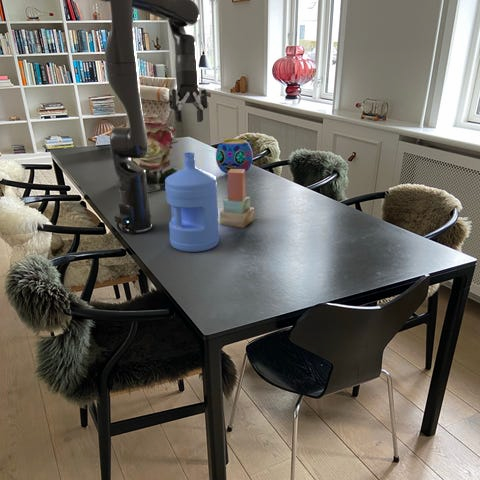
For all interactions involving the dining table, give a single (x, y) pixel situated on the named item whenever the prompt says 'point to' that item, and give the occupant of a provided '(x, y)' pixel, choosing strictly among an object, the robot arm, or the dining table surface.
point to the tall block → (236, 184)
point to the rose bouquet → (157, 151)
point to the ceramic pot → (234, 155)
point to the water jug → (192, 208)
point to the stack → (237, 213)
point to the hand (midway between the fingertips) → (189, 122)
